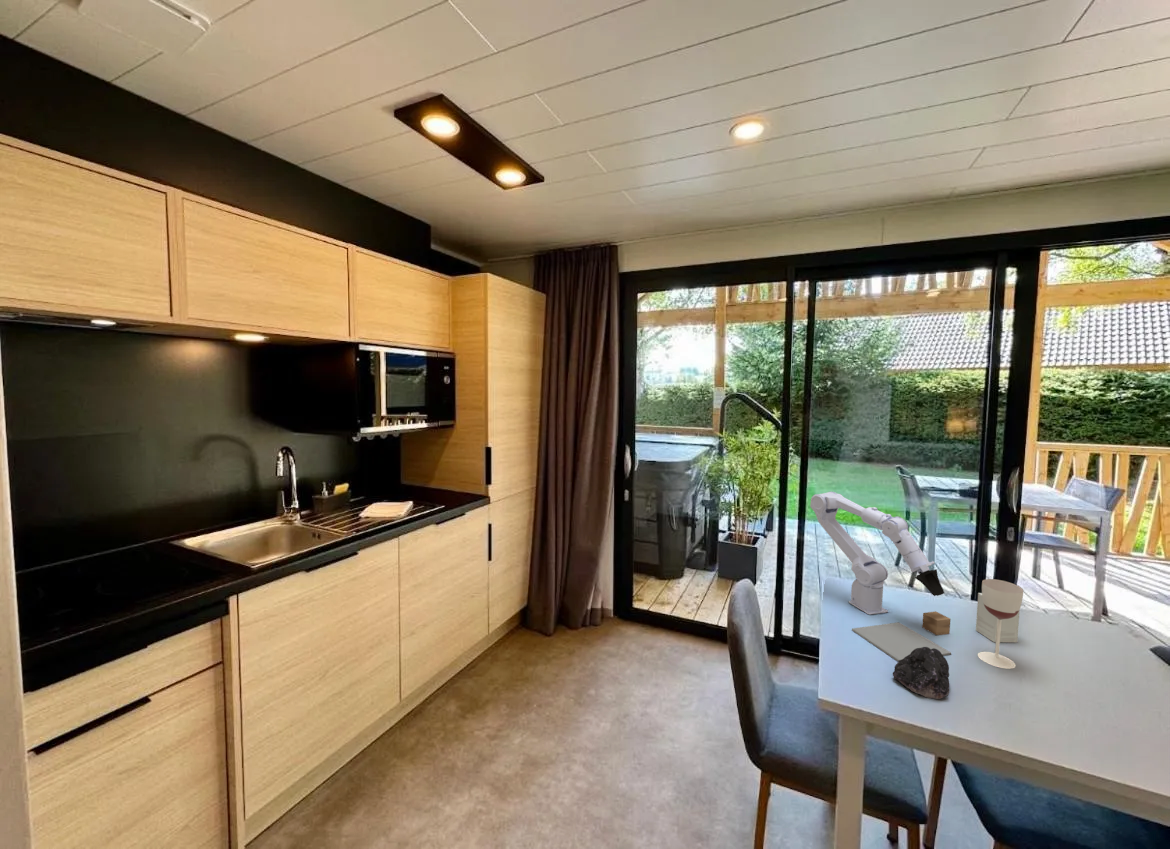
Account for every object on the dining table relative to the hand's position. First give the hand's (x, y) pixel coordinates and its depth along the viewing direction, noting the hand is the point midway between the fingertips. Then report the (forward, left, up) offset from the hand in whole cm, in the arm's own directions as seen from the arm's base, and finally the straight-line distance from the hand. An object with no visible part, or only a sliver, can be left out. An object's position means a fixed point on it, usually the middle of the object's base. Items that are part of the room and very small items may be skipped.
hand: (939, 594), depth 148 cm
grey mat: (0, -14, -14) cm, 19 cm away
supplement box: (+4, +18, -14) cm, 23 cm away
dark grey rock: (+18, -25, -14) cm, 34 cm away
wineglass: (+14, +5, -14) cm, 20 cm away
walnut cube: (-3, +3, -14) cm, 14 cm away
